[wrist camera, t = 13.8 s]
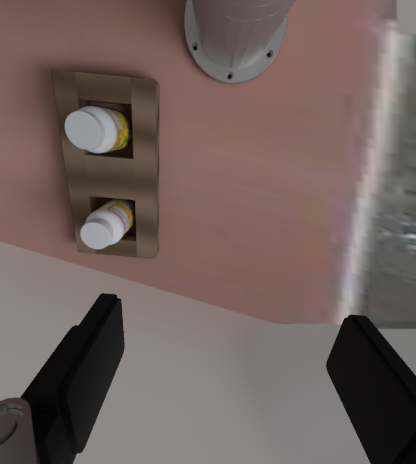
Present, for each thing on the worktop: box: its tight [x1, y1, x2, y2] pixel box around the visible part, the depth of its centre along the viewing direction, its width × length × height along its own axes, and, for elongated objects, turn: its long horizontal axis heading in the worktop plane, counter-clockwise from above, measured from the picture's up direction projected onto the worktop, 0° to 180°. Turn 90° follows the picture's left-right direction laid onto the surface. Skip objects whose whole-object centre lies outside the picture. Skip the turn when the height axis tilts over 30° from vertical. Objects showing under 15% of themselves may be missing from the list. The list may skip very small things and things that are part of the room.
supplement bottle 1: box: [65, 106, 133, 153], centre depth 31 cm, size 5×5×10 cm
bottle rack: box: [51, 70, 159, 259], centre depth 36 cm, size 26×13×3 cm, turn 175°
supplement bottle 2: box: [80, 198, 136, 249], centre depth 36 cm, size 5×5×10 cm
